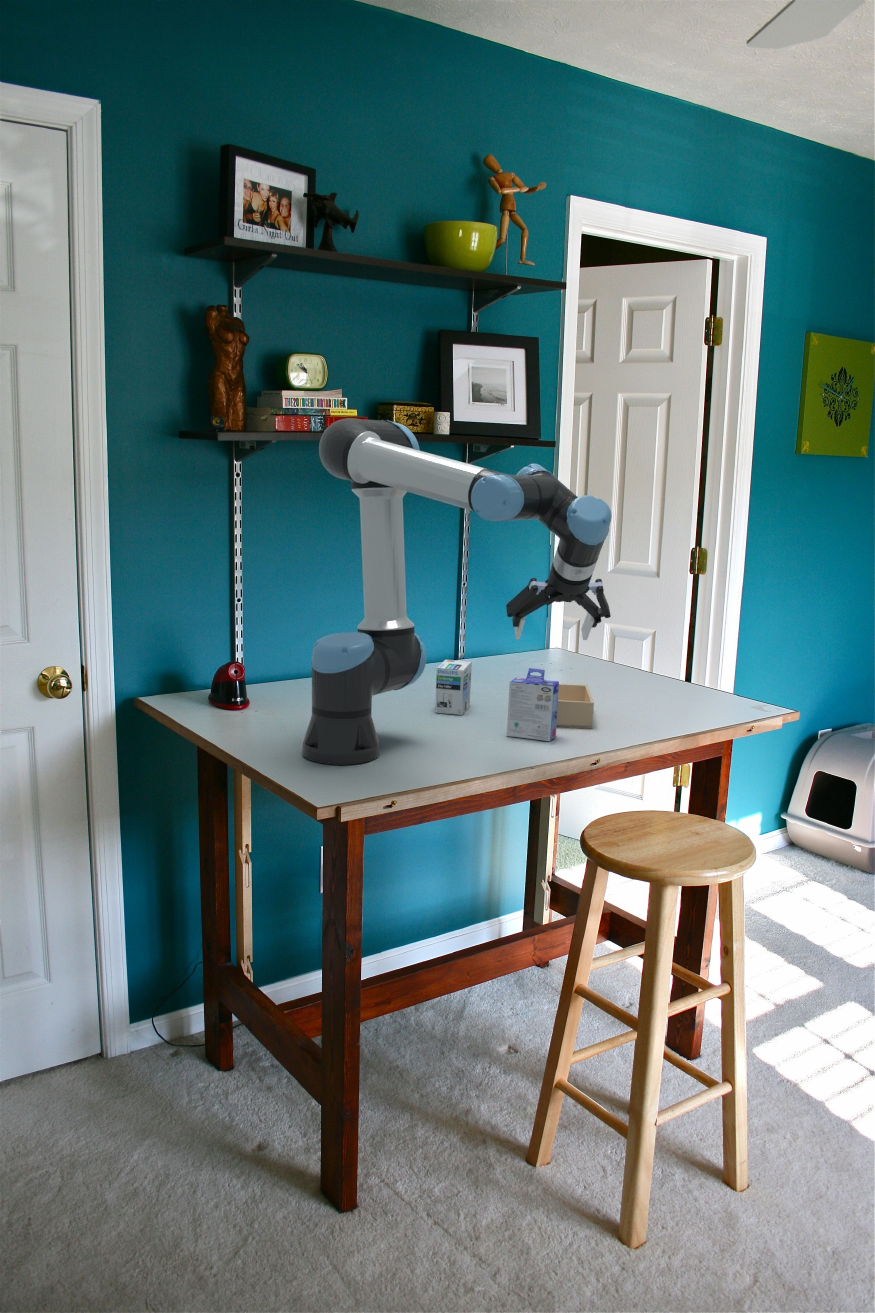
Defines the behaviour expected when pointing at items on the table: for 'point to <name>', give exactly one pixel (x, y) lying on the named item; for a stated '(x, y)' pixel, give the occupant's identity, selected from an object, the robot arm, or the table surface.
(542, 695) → the ink cartridge box
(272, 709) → the table surface
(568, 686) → the open tan box
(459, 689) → the light bulb box
